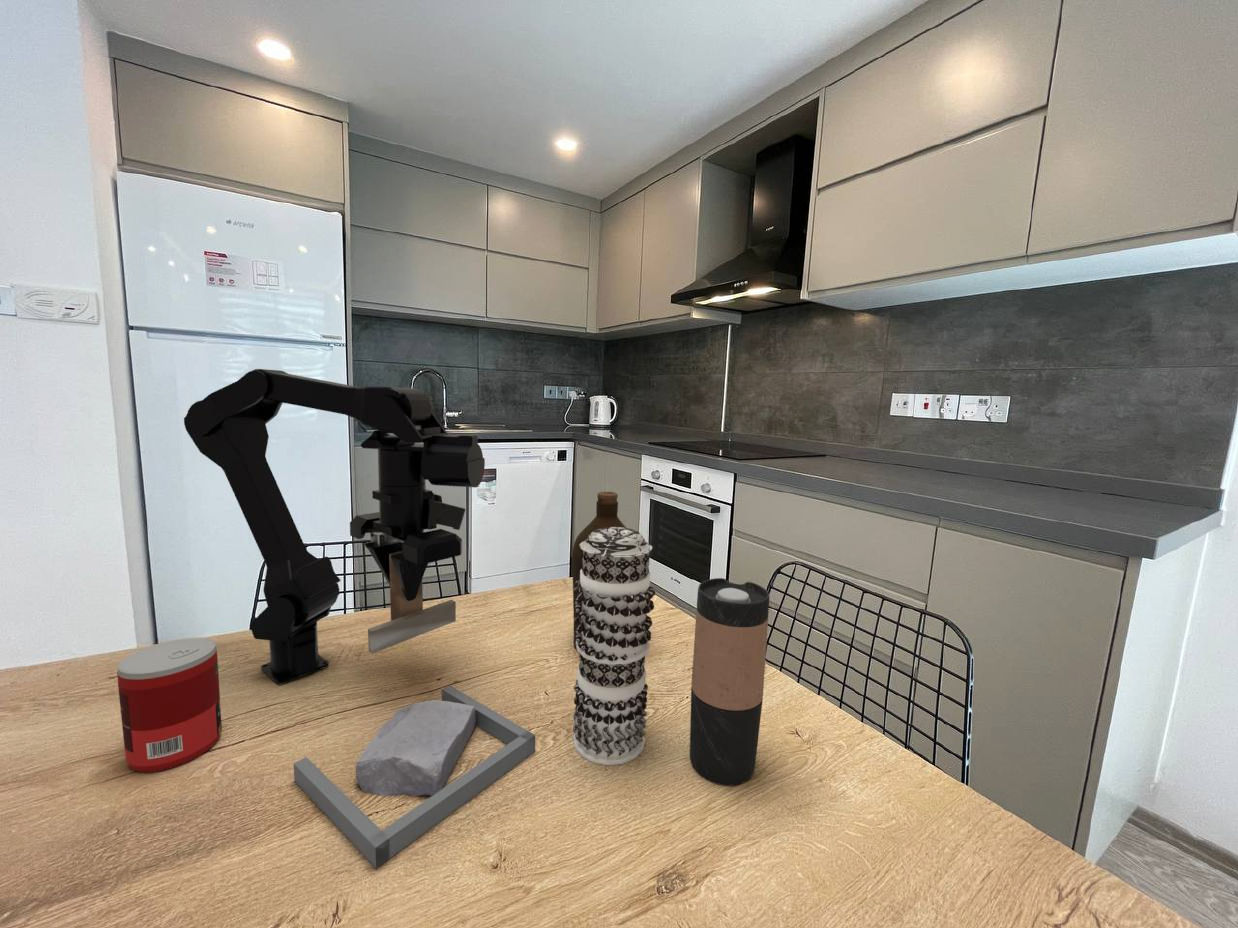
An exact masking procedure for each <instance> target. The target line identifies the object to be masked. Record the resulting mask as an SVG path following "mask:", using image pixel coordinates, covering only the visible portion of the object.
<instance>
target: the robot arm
mask: <svg viewBox="0 0 1238 928" xmlns="http://www.w3.org/2000/svg"><path fill="white" fill-rule="evenodd" d="M429 399H430V398H428V396H427V395H426V393H425V392H424V391H422V390H421V389H417V388H415V387H414V388H413V387H397V386H396V387H395V386H394V387H393V386H364V387H363V386H355V385H350V384H346V383H339V382H334V381H329V380H323V379H317V378H313V377H307V376H301V375H297V374H291V373H288V372H285V371H283V370H277V369H265V368H264V369H263V368H255V369H253V370H250V371H248V372H246V373H245V374H244V375H243V376H242V377H240V378H239V379H238V380H236V381H235V382H231V383H230V384H227V385H226V386H224V387H222V388H220V389H218V390H215V391H213V392H211V393H209V394H208V395H207V396H206V397H204V398H202V399H201V400H199V401H198V400H197V401H196V402H194V403H193V404H191V405H190V407H189V408H188V410H187V412H186V415H185V417H183V425H184V428H185V431H186V432H187V434H188V436H189V437H190V439H191V440H192V442H193V443H194V445H195V446H196V448H197V449H198V451H199V452H200V453H201V455H203V456H205V457H206V458H207V459H209V460H210V461H212V462H213V463H214V464H215V465H217V466H218V467H220V468H221V469H222V471H223V473H224V475H225V476H226V479H227V481H228V483H229V486H230V488H231V490H232V492H233V494H234V497H235V499H236V501H237V504H238V506H239V508H240V510H241V512H242V514H243V516H244V519H245V521H246V523H247V525H248V527H249V530H250V532H251V535H252V537H253V538H254V541H255V543H256V546H257V547H258V550H259V552H260V555H261V556H262V559H263V561H264V563H265V566H266V572H265V578H264V585H263V589H262V590H263V591H262V592H263V595H264V598H265V601H266V605H267V607H266V608H264V610H262V612H260V613H259V614H258V616H256V617H255V618H254V619H253V620H252V621H251V622H250V623H249V627H250V630H251V632H252V635H253V638H254V639H255V640H261V641H262V640H264V641H269V656H270V658H269V659H270V661H269V662H267V663H264V664H262V665H261V666H260V670H261V671H262V673H265V675H267V676H268V677H269V678H270V679H272V681H274V682H275V683H277V685H282V684H285V683H288V682H291V681H293V680H296V679H298V678H301V677H304V676H307V675H309V674H311V673H314V672H317V671H319V670H323V669H324V668H328V667H329V664H330V663H329V661H328V660H326V658H324V657H322V656H321V655H320V654H319V641H318V622H319V621H320V620H322V619H324V618H326V617H328V616H329V614H330V612H331V608H332V607H333V606H334V605H335V603H337V600H338V597H339V595H340V587H339V584H338V583H340V582H341V578H339V576H338V575H337V574H336V572H335V570H334V567H333V563H332V561H331V559H330V558H329V556H324V557H321V558H318V557H316V556H315V555H313V554H312V553H311V552H309V551H308V549H307V548H306V546H305V543H304V542H303V539H302V537H301V535H300V533H299V530H298V527H297V525H296V523H295V521H294V519H293V517H292V515H291V511H290V510H289V508H288V505H287V503H286V501H285V498H284V496H283V494H282V492H281V489H280V488H279V486H278V482H277V480H276V478H275V476H274V474H273V471H272V470H271V467H270V464H269V462H268V460H267V457H266V455H267V450H268V449H267V448H268V443H269V437H270V436H269V431H268V428H267V425H266V424H268V423H269V422H270V421H272V419H274V418H275V417H276V416H277V415H278V413H279V411H280V409H281V407H282V405H283V404H287V405H294V406H298V407H304V408H308V409H312V410H313V409H314V410H319V411H324V412H330V413H334V414H339V415H345V416H347V417H349V418H352V419H354V420H356V421H357V422H359V423H360V424H361V425H364V426H365V427H366V426H367V427H369V428H372V429H374V430H373V432H372V433H371V435H369V436H368V437H367V438H366V439H365V440H363V441H362V442H361V444H360V447H361V448H362V449H369V450H370V449H371V450H373V449H374V450H377V461H378V462H377V466H378V467H377V469H378V471H377V473H378V474H377V475H378V489H375V490H372V499H374V500H376V501H378V507H379V508H378V510H379V511H378V512H370V513H364V514H357V515H355V516H354V517H353V518H352V520H351V521H350V522H349V535H350V537H352V538H355V539H356V540H361V539H363V538H364V537H365V535H366V534H370V541H369V542H365V543H364V547H365V548H366V549H367V550H368V551H369V553H370V555H371V557H372V558H373V559H374V562H375V564H376V565H377V566H378V569H379V570H380V571H381V573H382V575H383V577H384V579H385V580H386V583H387V584H388V585H389V587H390V566H389V554H391V553H395V552H399V551H403V553H399V554H395V555H391V559H392V562H393V565H394V568H395V570H396V573H397V576H398V579H399V582H400V585H401V587H402V590H403V593H404V595H405V597H406V600H408V601H411V600H414V599H415V598H416V596H417V593H418V590H419V587H420V584H421V581H422V582H423V577H424V575H425V572H426V569H427V567H428V566H429V565H428V564H430V563H434V562H440V561H442V560H446V559H447V560H448V559H451V558H455V557H458V556H459V557H460V556H461V555H462V554H463V539H462V538H461V537H460V536H459V535H457V533H454V532H451V531H448V530H445V529H442V528H438V527H437V525H441V526H444V527H449V528H452V529H453V530H455V531H456V530H457V531H460V529H461V527H462V523H463V519H464V517H465V513H466V508H464V507H462V506H457V505H453V504H448V503H445V502H443V498H442V495H439V494H436V493H434V492H433V490H430V489H426V485H427V484H426V481H428V482H429V484H431V485H433V486H443V487H444V486H445V487H461V488H478V487H479V486H480V485H481V483H482V480H483V477H484V474H485V465H486V462H485V458H484V456H483V450H482V448H481V446H480V444H479V443H478V442H479V437H478V435H477V434H463V435H456V434H455V435H454V434H453V435H452V434H451V435H450V434H448V432H447V430H446V428H444V426H443V425H442V423H441V422H440V421H439V419H438V418H437V416H436V415H435V414H434V412H433V410H432V405H431V403H430V400H429ZM390 434H393V435H390ZM420 443H422V444H420ZM425 530H428V531H425Z"/></svg>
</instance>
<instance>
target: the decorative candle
mask: <svg viewBox="0 0 1238 928" xmlns="http://www.w3.org/2000/svg"><path fill="white" fill-rule="evenodd" d="M579 545H580V547H581V549H582V550H583V555H582V562H583V565H582V569H581V570H580V578H579V580H577V581H576V582H575V587H574V593H575V594H576V597H577V599H576V600H575V604H576V605H575V611H576V617H575V618H574V617H573V623H574V622H575V623H576V624H577V626H576V627H577V629H576V634H577V635H576V636H575V640H576V647H577V649H576V651H577V652H578V653H579V665H578V667H577V674H576V675H577V676H576V677H577V679H576V680H575V685H574V686H573V690H574V692H575V697H574V699H573V703H574V705H575V707H574V710H573V713H572V718H573V720H574V723H573V726H572V730H573V731H572V732H573V738H572V739H573V746H574V749H575V750H576V751H577V752H578V754H579V755H580V756H581V757H582V758H584V759H585V760H587V761H589V762H590V763H593V764H597V765H598V764H599V765H604V766H615V765H624V764H626V763H629V762H630V761H632V760H636V759H637V757H638V756H639V755H640V754H641V753H642V752H643V751H644V748H645V743H646V737H645V736H646V731H645V730H644V729H646V728H647V725H646V723H647V719H646V718H645V717H646V716H647V715H648V713H647V711H646V709H647V703H648V698H647V695H648V689H649V686H648V684H647V683H646V677H647V670H646V667H645V662H646V661H645V660H646V656H647V655H648V653H649V651H650V641H651V639H652V632H651V631H650V627H652V626H653V620H652V618H651V616H649V615H647V614H649V613H651V611H653V610H654V609H655V603H654V602H653V600H651V599H653V598H654V596H656V590H655V589H654V587H653V586H652V585H651V572H650V553H651V551H652V549H653V548H654V547H653V546H652V544H650V542H647V541H646V540H645V538H644V536H643V535H642V534H641V533H640V532H639V531H638V530H635V529H632V528H627V527H626V528H622V527H606V528H600V529H597V530H594V531H593V532H592V533H591V534H590V535H589V536H588V538H587V540H584V541H583V542H581V543H580V544H579ZM581 588H582V592H580V590H581ZM581 604H582V606H581ZM580 619H582V622H580Z"/></svg>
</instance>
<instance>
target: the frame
mask: <svg viewBox="0 0 1238 928" xmlns="http://www.w3.org/2000/svg"><path fill="white" fill-rule="evenodd" d="M441 701H449V702H453V703H461V704H466V705H469V706H474V707H475V717H476V722H475V726H477V727H479V728H480V729H482V730H484V731H485V732H486V733H488V734H489V735H491V736H493V737H494V738H496V739H498V740H499V741H501V742H502V743H504V744H505V746H503V747H501V748H500V749H499V750H498V751H496V752H494V753H493V754H491V755H490V756H488V757H487V758H486V759H484V760H483V761H481V762H480V763H478V764H477V765H475V766H474V767H473V768H471V769H469V771H468V770H467V772H465V773H464V774H462V775H461V776H459V777H458V778H457V779H455V780H454V781H452V782H450V783H449V784H448V785H446V786H444V788H443V789H442V790H440V791H439V792H437V793H436V794H434V795H433V796H429V798H427V799H425V800H424V801H422V802H421V803H420V804H418V805H417V806H415V807H414V808H412V809H411V810H410V811H409V812H407V813H405V814H403V815H402V816H401V817H399V818H398V819H396V820H395V821H394V822H392V823H391V824H389V825H387V826H386V827H385V828H383V829H381V828H380V827H379V826H378V825H377V824H376V823H375V822H373V821H372V820H371V818H370V817H368V815H366V814H365V813H364V812H363V811H362V810H361V809H360V808H359V807H358V806H357V804H355V803H354V802H353V801H352V800H351V799H350V798H349V797H348V796H347V795H346V794H345V793H344V792H343V791H342V790H341V789H340V787H338V786H337V785H336V784H335V783H334V782H332V780H331V779H330V778H329V777H327V775H326V774H325V773H324V772H323V771H321V770H320V768H319V767H317V766H316V764H314V763H313V762H312V761H311V760H310V759H309V758H308V757H307V756H305V757H304V758H301V759H299V760H298V761H296V762H293V779H294V783H296V785H297V786H298V787H299V788H300V789H301V790H302V791H303V792H304V794H305V795H306V796H308V798H309V799H310V800H311V801H312V802H313V803H314V804H315V805H316V806H317V808H318V809H320V810H321V812H322V813H324V815H325V816H326V817H327V818H328V819H329V820H330V821H331V823H333V825H334V826H335V827H336V828H338V829H339V831H340V832H341V833H342V834H343V835H344V836H345V837H346V839H347V840H348V841H349V842H350V843H351V844H352V845H353V846H354V847H355V849H357V850H358V851H359V853H360V854H361V855H362V856H363V857H364V858H366V860H367V861H368V862H369V863H370V864H371V865H372V867H374V869H378V868H380V867H381V866H382V865H383V864H385V863H386V862H388V861H389V860H390V859H392V858H393V857H395V856H396V855H397V854H399V852H401V851H403V850H404V849H405V848H407V847H408V846H410V845H411V844H412V843H413V842H416V840H418V839H419V838H420V837H422V836H423V835H424V834H425V833H427V832H428V831H430V830H431V829H432V828H433V827H435V826H437V824H439V823H440V822H442V821H443V820H444V819H446V818H447V817H448V816H450V815H451V814H453V813H454V812H455V811H457V810H458V809H459V808H461V807H462V806H463V805H465V804H466V803H467V802H469V801H470V800H472V799H473V798H475V796H477V795H478V794H480V793H481V792H483V791H484V790H485V789H487V788H488V787H489V786H490V785H492V784H493V783H495V782H496V781H497V780H499V779H500V778H501V777H502V776H505V774H507V773H508V772H509V771H511V770H512V769H513V768H514V767H516V766H518V765H519V764H520V763H522V762H523V761H524V760H525V759H527V758H528V757H530V756H531V755H532V754H534V753H535V752H536V734H534V733H532V732H531V731H529V730H528V729H526V728H524V727H522V726H521V725H519V724H518V723H515V722H514V721H512V720H510V719H509V718H507V717H505V716H504V715H502V714H501V713H498V711H495V710H493V709H492V708H490V707H488V706H487V705H485V704H483V703H481V702H480V701H479V700H476V699H474V698H472V697H471V696H470V695H468V694H466V693H464V692H463V691H461V690H459V689H457V688H456V687H454V686H452V685H450V684H449V685H447V686H445V687H443V688H441Z"/></svg>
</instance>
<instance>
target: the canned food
mask: <svg viewBox="0 0 1238 928" xmlns="http://www.w3.org/2000/svg"><path fill="white" fill-rule="evenodd" d="M217 649H218V648H217V645H216V642H215V640H212V639H210V638H206V637H185V638H180V639H172V640H168V641H164V642H160V643H157V644H153V645H150V646H148V647H145V648H142V649H140V650H138V651H135V652H132V654H130V655H128V656H126V657H124V659H122V660H121V661H120V662H119V663H118V665H117V686H118V696H119V697H118V698H119V705H120V717H121V725H122V727H121V728H122V735H123V736H122V738H123V747H124V754H125V755H124V756H125V757H124V758H125V760H126V763H127V764H128V766H129V767H130V768H131V769H132V770H133V771H136V772H139V773H140V772H142V773H153V772H160V771H165V770H169V769H173V768H175V767H178V766H179V767H180V766H181V765H184V764H187V763H188V762H191V761H192V760H194V759H196V758H198V757H200V756H202V755H203V754H204V753H206V752H207V751H209V750H210V749H211V748H212V747H214V745H216V743H217V742H218V741H219V739H220V736H221V732H222V728H223V727H222V710H221V709H222V708H221V695H220V694H221V692H220V679H219V678H220V677H219V661H218V650H217Z"/></svg>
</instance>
